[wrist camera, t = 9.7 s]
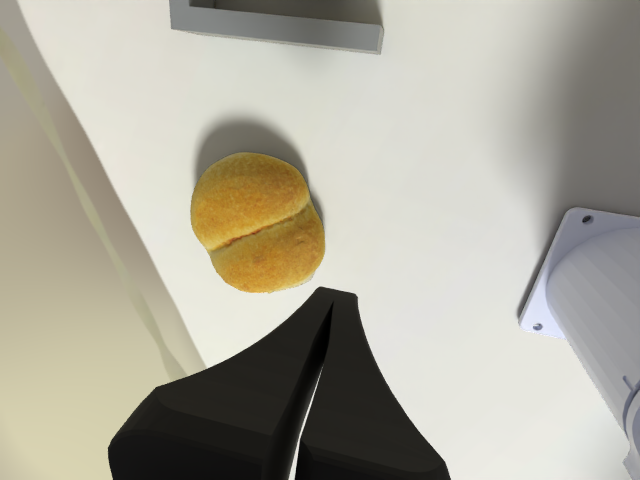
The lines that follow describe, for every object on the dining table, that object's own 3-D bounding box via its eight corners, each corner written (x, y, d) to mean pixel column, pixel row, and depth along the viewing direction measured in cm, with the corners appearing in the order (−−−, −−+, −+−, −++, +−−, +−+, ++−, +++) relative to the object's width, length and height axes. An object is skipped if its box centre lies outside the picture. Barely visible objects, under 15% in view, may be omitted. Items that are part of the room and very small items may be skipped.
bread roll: (289, 129, 21) (265, 140, 17) (343, 261, 23) (331, 294, 20) (180, 175, 23) (140, 192, 20) (239, 288, 26) (213, 321, 23)
